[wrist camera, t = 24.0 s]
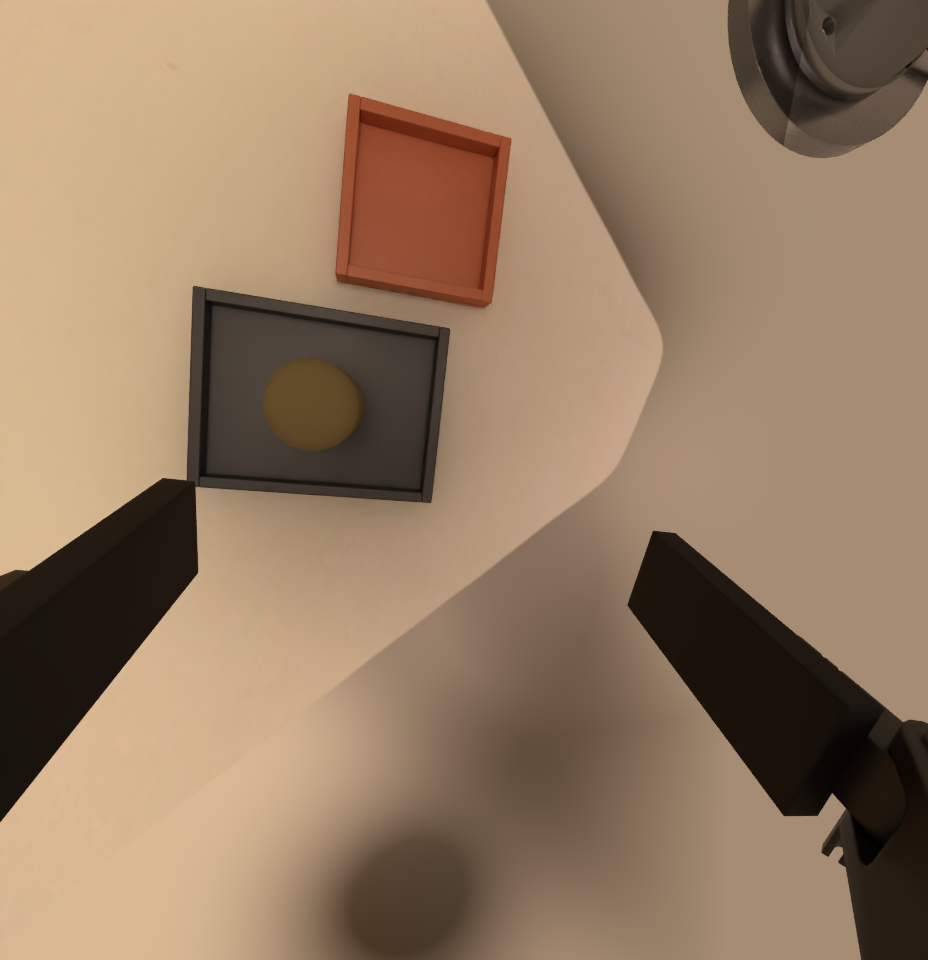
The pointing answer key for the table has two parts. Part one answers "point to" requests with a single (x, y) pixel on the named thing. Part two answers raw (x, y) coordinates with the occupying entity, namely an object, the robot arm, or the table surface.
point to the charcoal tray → (336, 339)
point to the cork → (312, 404)
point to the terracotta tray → (420, 204)
